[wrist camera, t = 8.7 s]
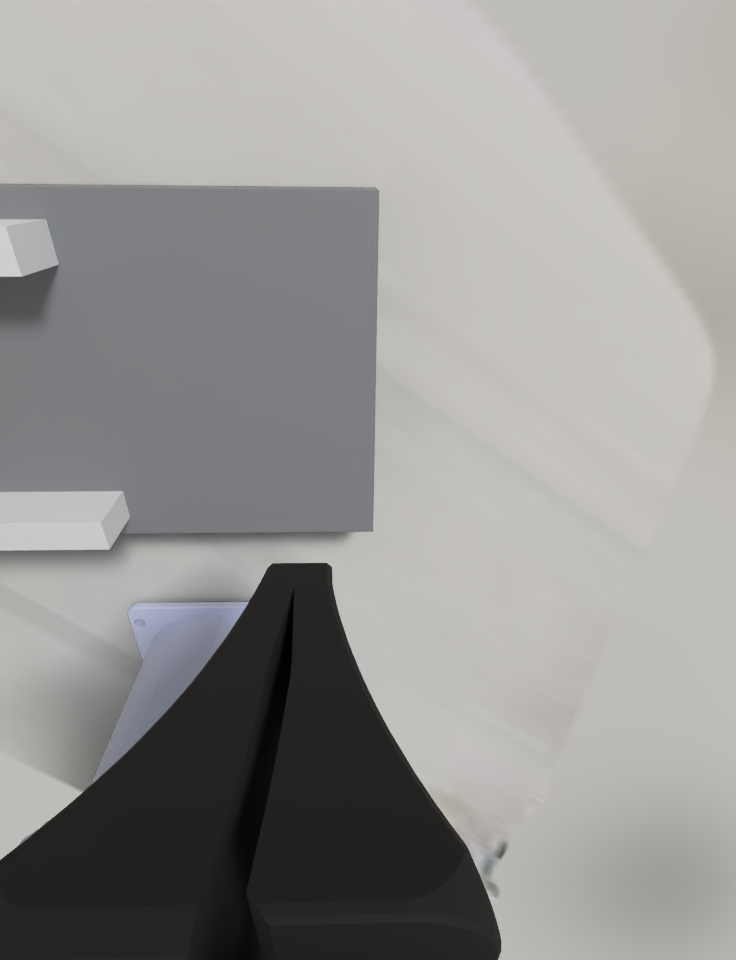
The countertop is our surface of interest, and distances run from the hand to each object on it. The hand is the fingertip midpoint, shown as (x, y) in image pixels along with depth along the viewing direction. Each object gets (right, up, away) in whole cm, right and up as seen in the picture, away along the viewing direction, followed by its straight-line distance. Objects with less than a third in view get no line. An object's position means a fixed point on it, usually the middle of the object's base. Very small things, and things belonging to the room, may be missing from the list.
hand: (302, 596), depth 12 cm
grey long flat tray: (-12, +7, +8) cm, 16 cm away
